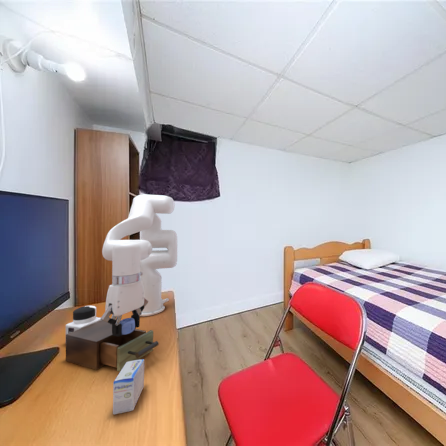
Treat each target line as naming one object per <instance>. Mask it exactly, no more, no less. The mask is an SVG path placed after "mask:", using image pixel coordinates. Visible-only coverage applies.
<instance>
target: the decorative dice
mask: <svg viewBox="0 0 446 446" xmlns="http://www.w3.org/2000/svg"><path fill="white" fill-rule="evenodd" d="M120 324H122V335H126V334H129V333H131V332H133V331H134V330H135V320H134V318H131V317H127V318H123V319H121V321H120Z"/></svg>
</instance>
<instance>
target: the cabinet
mask: <svg viewBox="0 0 446 446" xmlns="http://www.w3.org/2000/svg"><path fill="white" fill-rule="evenodd" d="M135 329H137V328H136V327H135ZM111 337H113V334H112V324H110V323H108V322H105V321H99V322H96V323H94V324H91V325H89V326H86V327H84V328H81V329H79V330H76V331H73V332H71V333H68V334H66V333H65V362H68V363H72V364H74V365H78V366H82V367H85V368H89V369H93V370H96V371H98V370H99V369H100V368H103V367H104V366H106V365H105V364H101V363H99V343H100V342H102V341H105V340H107V339H109V338H111Z"/></svg>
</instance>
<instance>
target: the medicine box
mask: <svg viewBox="0 0 446 446" xmlns="http://www.w3.org/2000/svg"><path fill="white" fill-rule="evenodd" d="M112 383H113V384H112V385H113V386H112V387H113V389H112V395H113V396H112V397H113V398H112V415H115V416H116V415H120V414H124V413H129V412H133V411H134V410H135V407H136V405H137V403H138V401H139V399H140V396H141V393H142V392H143V389H144V387H145V359H144V358H140V359H139V360H134V361H129V362H126V364H125V365H124V367H123V368H122V370H121V371H120V372H119V373H118V375H117V376H116V377H115V379H114V380H113V382H112Z"/></svg>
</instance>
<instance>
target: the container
mask: <svg viewBox="0 0 446 446" xmlns="http://www.w3.org/2000/svg"><path fill="white" fill-rule="evenodd" d="M100 318H101V317H98V316H97V306H95V305H84V306H81V307H78V308H76V309H74V310H73V312H72V321H71V322H68V323H67V324H65V335H66V334H68V333H71V332H73V331H76V330H79V329H81V328H84V327H86V326H89V325H91V324H94V323H96V322H99V321H102V320H100Z"/></svg>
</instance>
